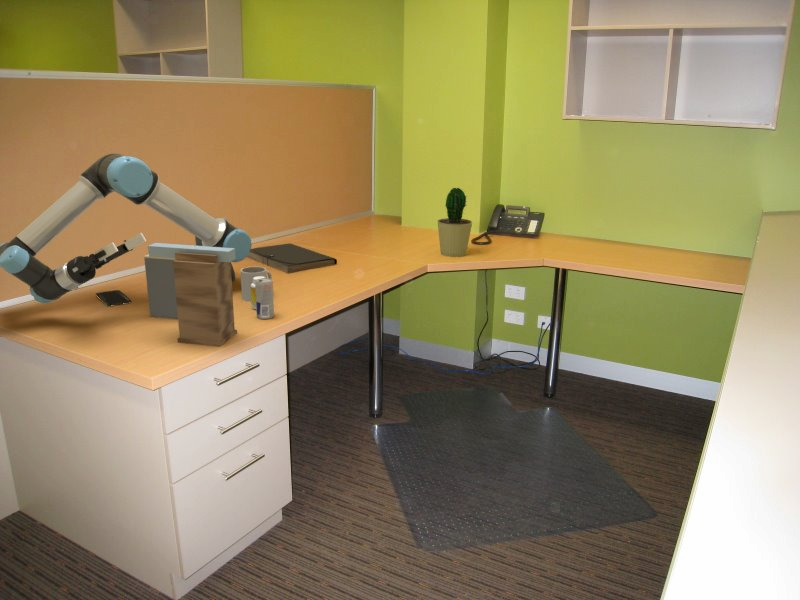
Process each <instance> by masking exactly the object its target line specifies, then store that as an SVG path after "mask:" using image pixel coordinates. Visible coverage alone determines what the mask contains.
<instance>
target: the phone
mask: <svg viewBox="0 0 800 600" xmlns="http://www.w3.org/2000/svg"><path fill="white" fill-rule="evenodd" d="M96 295H97V296H98V297H99V298H100V299H101V300H102V301H103V302H104V303H105V304H106V305H107V306H106V305H105V304H104V303H103V302H102V301H101V300H100V299H99V298H98V297H97V296H96ZM95 296H96V297H97V298H98V299H99V300H100V301H101V302H102V303H103V304H104V305H105V306H106V307H112V306H111V305H116V306H119V305H118V304H122V305H124V304H123V303H128V304H130V303H129V302H131V303H132V299H131V298H130V297H129V296H127V295H126V293H123V292H122V291H121V290H119V289H114V290H108V291H102V292H97V293H95Z"/></svg>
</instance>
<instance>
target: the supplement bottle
mask: <svg viewBox="0 0 800 600" xmlns="http://www.w3.org/2000/svg"><path fill="white" fill-rule="evenodd" d="M261 278H265V277H262V276H258V277H254V278H253V283H252V284H251V300H252V302H251V308H252V309H253V310H256V311H257V309H256V288H255V282H256V280H257V279H261Z"/></svg>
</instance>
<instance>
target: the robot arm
mask: <svg viewBox="0 0 800 600" xmlns="http://www.w3.org/2000/svg"><path fill="white" fill-rule="evenodd" d="M78 179H79V180H78V181H77V182H76V183H75V184H74V185H73V186H71V187H70V188H69V189H68V190H67V191H65V192H64V194H62V195H61V196H60V197H59V198H58V199H57V200H56V201H55V202H54V203H52V204H51V205H50V206H49V207H47V209H45V210H43V212H42V213H40V215H38V217H36V218H35V219H34V220H33V221H32V222H31V223H30V224H28V225H27V226H26V227H25V228H24V229H23V230H21V232H19V233H18V234H17V235H16V236H15V237H13V238H12V239H11V240H10V241H9V242H8V241H7V242H4V243H1V244H0V268H2V269H3V270H4V271H5V272H6V273H8V274H11V276H13V277H15V278H16V279H18V280H20V281H21V282H23V283H24V284H26V285H27V286H28V287H29V293H30V295H31V296H32V297H33V299H34V300H35V301H36V302H37V303H40V304H48V303H51V302H54V301H56V300H58V299H59V300H60V298H61V297H63V296H65V294H68V293H69V292H72V290H76V291H78V290H79V287H80V286H82V285H83V284H85V283H88V282H89V281H91V280H93V279H94V278H95V276H96V270H99V269H101V268H102V267H103V266H105V265H107V264H109V263H110V262H111V261H113V260H115V259H117V258H119V257H121V256H123V255H125V254H127V253H129V252H132V251H134V249H135V248H136V247H138V246H140V245H142V244H143V243H145V242H147V239H146V238H145V235H144V234H143V232H140V233H137V234H136V235H134V236H133V237H131V238H129V239H128V240H126V239H124V240H123V243H122V244H119V245H117V246H116V244H115V243H114V241H113V242H110V243H108V244H107V245H104V246H103V247H102V248H100V249H97V250H96V251H94V253H90V254H89V256H88V255H85V256H83V255H79V256H75V257H73V258H71V260H69V261H67V262H65V263H63V264H62V265H60V266H59V267H57V268H55V269H52V268H51V267H50V266H48V265H46V264H45V263H43V262H42V261H40V260H39V259H38V258H37V257H35V256H36V255H37V254H38V253H40V251H42V250H43V249H44V248H45V247H46V246H47V245H49V244H50V243H51V242H52V241H53V240H54V239H55V238H56V237H57V236H58V235H60V234H61V233H62V232H63V231H64V230H65V229H66V228H67V227H68V226H70V225H71V224H72V223H73V222H74V221H75V220H76V219H78V218H79V217H80V216H81V215H82V214H83V213H84V212H85V211H87V210H88V209H89V208H90V207H91V206H92V205H93V204H95V203H96V202H97V201H98V200H104V199H105V198H106V197H107V196H108V195H110V194H111V193H114V192H115V193H116V194H118V195H119V196H122V197H123V198H125V199H126V200H129V201H130V202H132V203H133V204H135V205H136V206H140V205H146V206H147V207H149V208H150V209H152V210H153V211H155V212H156V213H158V214H159V215H161V216H163V217H164V218H166V219H168V220H169V221H171V222H173V223H174V224H176V225H177V226H179V227H180V228H182V229H184V230H185V231H187V232H188V233H190V234H192V235H193V236H194V241H195V246H208V247H222V248H235V256H236V259H235V260H233V261H231V276H232V283H233V282H235V281H236V272H235V269H234V267H233V264H232V263H240V262H242V261H244V260H245V259H246V258H248V257H247V256H248V254H249V253H250V250H251V249H252V239H251V236H250V235H249V233H248V232H246V231H245V230H244V229H241V228H238V227H236V226H235V225H232V223H230V222H229V221H228V219H227V218H226V217H213V216H211V214H208V213H207V212H206V211H205V210H202V209H201V208H200V207H199V206H197V205H196V204H194V203H193V202H191V201H190V200H187V198H185V197H183V196H182V195H180V194H179V193H177V192H176V191H174V190H173V189H172V188H170V187H168V186H167V185H166V184H164V183H163V182H161V181H160V176H159V174H157V173H156V172H155V171H154V170H152V169H151V168H150V167H149V165H147V164H146V163H145V162H144V161H143V160H141V159H139V158H137V157H134V156H130V155H129V156H128V155H124V154H123V155H122V154H119V153H108V154H105V155H103V156H101V157H100V158H98V159H97V160H96V161H94V162H93V163H92V164H90V166H89V167H88V168H86V169H85V171H83V172H81V174H80V175H79V176H78Z"/></svg>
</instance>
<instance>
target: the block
mask: <svg viewBox="0 0 800 600" xmlns="http://www.w3.org/2000/svg"><path fill="white" fill-rule="evenodd" d="M143 258H144V259H143V260H144V268H145V269H144V270H145V278H146V279H145V280H146V287H147V297H148V308H149V309H148V310H149V317H150V316H153V317H152V318H159V317H161V318H160V319H170V318H171V319H170V320H172V319H173V320H178V313H177V301H176V290H175V279H174V267H173V261H175V258H163V257H150V256H149V253H148V254H145V255H144V256H143Z"/></svg>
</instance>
